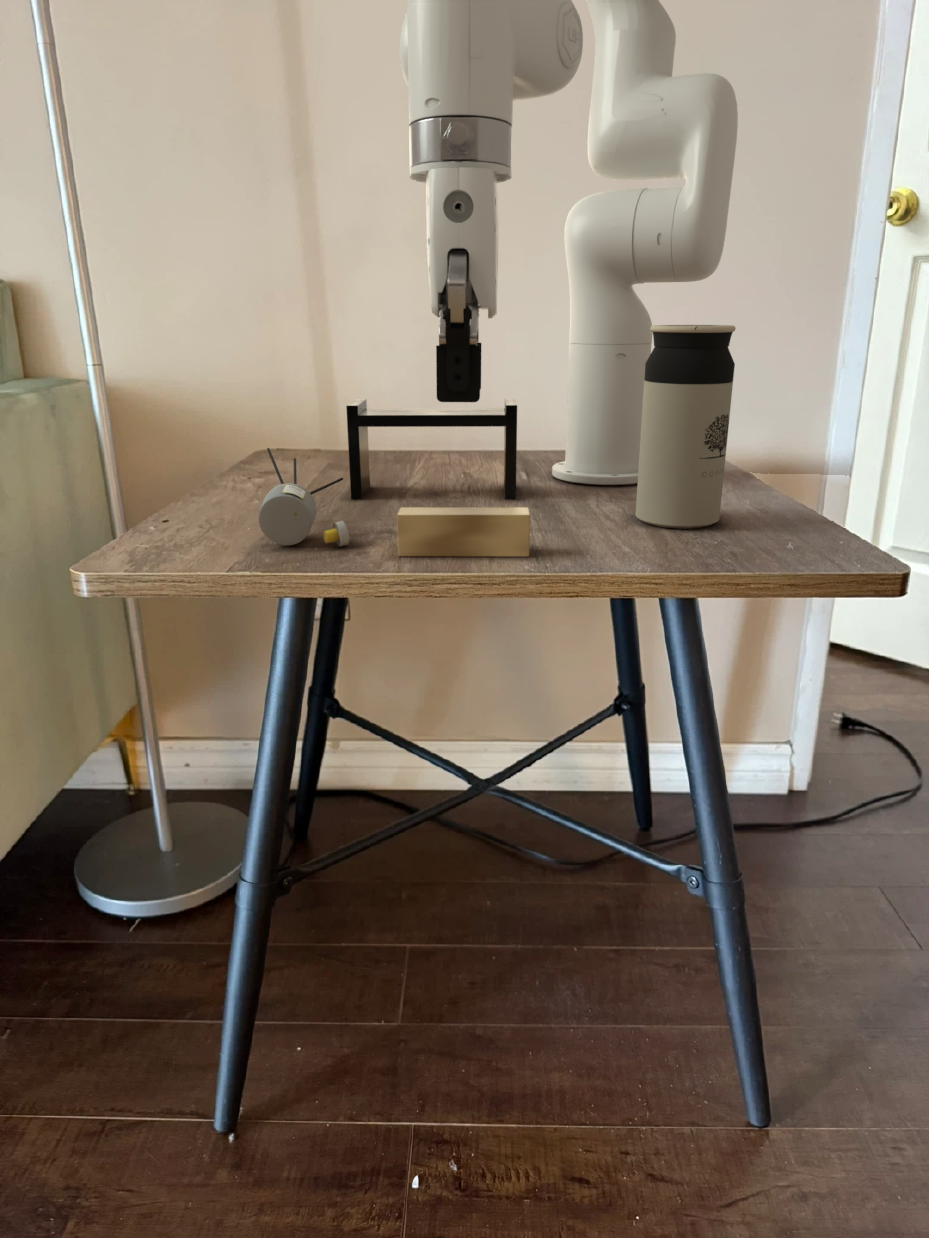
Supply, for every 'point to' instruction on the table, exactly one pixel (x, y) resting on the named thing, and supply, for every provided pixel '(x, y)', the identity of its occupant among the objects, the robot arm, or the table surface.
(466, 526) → the block
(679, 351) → the travel mug
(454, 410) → the shelf
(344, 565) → the table surface
